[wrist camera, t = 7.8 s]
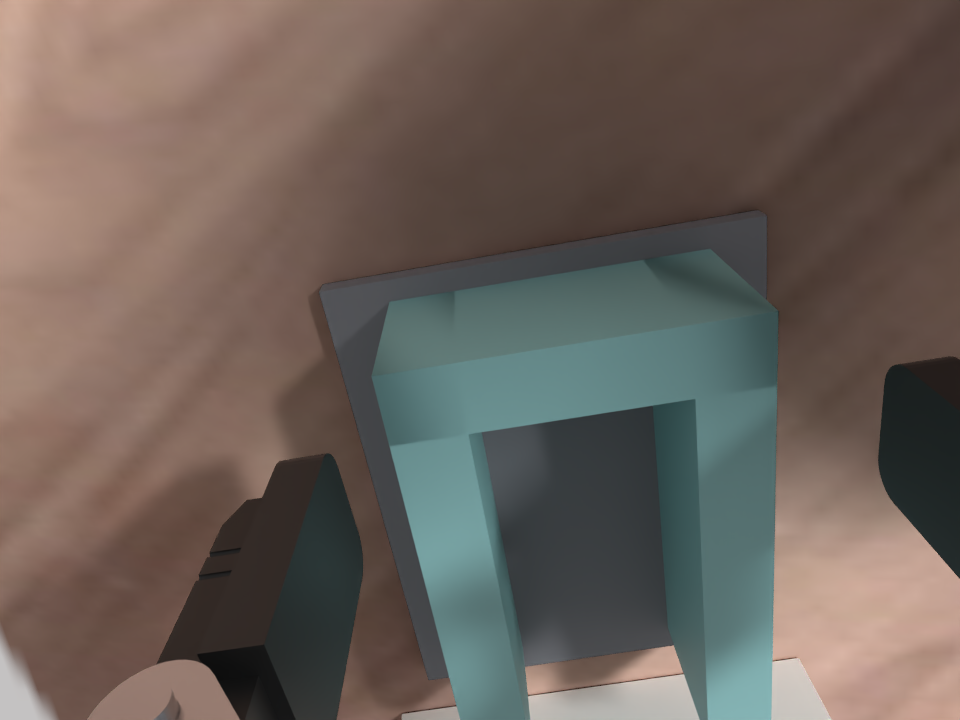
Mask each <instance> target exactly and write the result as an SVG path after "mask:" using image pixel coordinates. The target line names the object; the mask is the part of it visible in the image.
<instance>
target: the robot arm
mask: <svg viewBox="0 0 960 720" xmlns="http://www.w3.org/2000/svg"><path fill="white" fill-rule="evenodd" d="M878 463H879V471H880V475H881V479H882V482H883V485H884V487H885V490H886V492H887V494H888V495H889V497H890V499H891V500H892V501H893V503H894V504H895V505H896V506H897V507H898V508H899V509H900V511H901V512H902V513H903V514H904V515H905V516H906V518H907V519H908V520H909V521H910V522H911V523H912V524H913V526H914V527H915V528H916V529H917V530H918V531H919V532H920V534H921V535H922V536H923V537H924V538H925V539H926V541H927V542H928V543H929V544H930V545H931V546H932V547H933V549H934V550H935V551H936V552H937V553H938V554H939V555H940V557H941V558H942V559H943V560H944V561H945V562H946V563H947V565H948V566H949V567H950V568H951V569H952V570H953V572H954V573H955V574H956V575H957V576H958V577H959V578H960V359H958V358H956V357H950V356H948V357H942V358H936V359H929V360H923V361H917V362H910V363H904V364H898V365H894V366H892V367H891V368H890V369H889V370H888V372H887V374H886V378H885V384H884V395H883V407H882V419H881V431H880V443H879V455H878ZM362 576H363V556H362V547H361V541H360V537H359V533H358V530H357V527H356V524H355V520H354V517H353V514H352V511H351V508H350V504H349V501H348V498H347V495H346V492H345V488H344V485H343V482H342V479H341V476H340V473H339V469H338V466H337V464H336V461H335V459H334V458H333V456H332V455H331V454H328V453H327V454H321V455H315V456H308V457H302V458H296V459H289V460H283V461H279V462H278V463H277V464H276V466H275V469H274V471H273V473H272V476H271V478H270V480H269V483H268V485H267V488H266V490H265V492H264V495H263V497H262V498H258V499H252V500H247V501H246V502H245V503H244V504H243V505H242V506H241V507H240V508H239V509H238V510H237V511H236V512H235V513H234V514H233V515H232V516H231V517H230V518H229V519H228V520H227V521H226V522H225V523H224V524H223V525H222V527H221V529H220V532H219V534H218V536H217V538H216V540H215V542H214V544H213V546H212V548H211V551H210V558H207V559H206V561H205V563H204V565H203V567H202V570H201V572H200V574H199V581H196V582H195V584H194V586H193V589H192V591H191V593H190V595H189V597H188V599H187V601H186V603H185V605H184V608H183V610H182V612H181V614H180V616H179V618H178V620H177V622H176V624H175V627H174V629H173V631H172V633H171V635H170V637H169V639H168V641H167V643H166V646H165V648H164V650H163V652H162V654H161V656H160V658H159V660H158V662H157V665H154V666H151V667H149V668H147V669H144V670H142V671H140V672H139V673H137V674H135V675H133V676H131V677H130V678H128V679H127V680H125V681H124V682H122V683H121V684H120V685H118V686H117V687H116V688H115V689H113V690H112V691H111V692H110V693H109V694H108V695H107V696H106V697H105V698H104V699H103V700H102V701H101V702H100V703H99V704H98V705H97V706H96V708H95V709H94V710H93V711H92V713H91V714H90V716H89V717H88V719H87V720H336V719H337V713H338V708H339V702H340V697H341V691H342V686H343V681H344V675H345V670H346V664H347V659H348V653H349V648H350V642H351V637H352V631H353V626H354V620H355V615H356V609H357V604H358V599H359V593H360V588H361V582H362Z"/></svg>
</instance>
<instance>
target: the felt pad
mask: <svg viewBox="0 0 960 720" xmlns="http://www.w3.org/2000/svg"><path fill="white" fill-rule="evenodd" d="M706 249H711V250H712V251H713V252H714V253H715V254H717V255H718V256H719V257H720V258H721V259H722V260H723V261H724V262H725V263H726V264H728V265H729V266H730V267H731V268H732V269H733V270H734V271H735V272H736V273H737V274H738V275H740V276H741V277H742V278H743V279H744V280H745V281H746V282H747V283H748V284H749V285H751V286H752V287H753V288H754V289H755V290H756V291H757V292H758V293H759V294H760V295H761V296H763V297H764V298H765V299H766V300H767V215H765V214H764V213H762V212H761V211H759V210H755V211H749V212H743V213H738V214H732V215H726V216H720V217H714V218H708V219H702V220H697V221H691V222H685V223H679V224H673V225H667V226H661V227H656V228H650V229H644V230H638V231H632V232H626V233H621V234H615V235H609V236H603V237H597V238H591V239H585V240H580V241H574V242H568V243H562V244H556V245H550V246H544V247H539V248H533V249H527V250H521V251H515V252H509V253H503V254H498V255H492V256H486V257H480V258H474V259H468V260H462V261H457V262H451V263H445V264H439V265H433V266H427V267H421V268H416V269H410V270H404V271H398V272H392V273H386V274H380V275H375V276H369V277H363V278H357V279H351V280H345V281H339V282H334V283H328V284H323V285H322V287H321V289H320V291H319V294H320V297H321V301H322V305H323V308H324V312H325V315H326V319H327V322H328V326H329V329H330V333H331V336H332V340H333V344H334V347H335V351H336V354H337V358H338V361H339V365H340V368H341V372H342V375H343V379H344V383H345V386H346V390H347V393H348V397H349V400H350V404H351V407H352V411H353V414H354V418H355V421H356V425H357V429H358V432H359V436H360V439H361V443H362V446H363V450H364V453H365V457H366V460H367V464H368V468H369V471H370V475H371V478H372V482H373V485H374V489H375V492H376V496H377V499H378V503H379V506H380V510H381V514H382V517H383V521H384V524H385V528H386V531H387V535H388V538H389V542H390V545H391V549H392V553H393V556H394V560H395V563H396V567H397V570H398V574H399V577H400V581H401V584H402V588H403V592H404V595H405V599H406V602H407V606H408V609H409V613H410V616H411V620H412V623H413V627H414V630H415V634H416V638H417V641H418V645H419V648H420V652H421V655H422V659H423V662H424V666H425V669H426V673H427V677H428V680H435V679H442V678H449V675H448V671H447V667H446V663H445V659H444V655H443V651H442V647H441V644H440V640H439V636H438V632H437V628H436V624H435V620H434V617H433V613H432V609H431V605H430V601H429V597H428V593H427V589H426V586H425V582H424V578H423V574H422V570H421V566H420V562H419V559H418V555H417V551H416V547H415V543H414V539H413V535H412V531H411V528H410V524H409V520H408V516H407V512H406V508H405V504H404V501H403V497H402V493H401V489H400V485H399V481H398V477H397V473H396V470H395V466H394V462H393V458H392V454H391V450H390V446H389V442H388V439H387V435H386V431H385V427H384V423H383V419H382V415H381V412H380V408H379V404H378V400H377V396H376V392H375V388H374V384H373V381H372V377H371V376H372V372H373V368H374V364H375V360H376V356H377V351H378V347H379V343H380V339H381V335H382V331H383V326H384V322H385V318H386V314H387V310H388V306H389V302H391V301H397V300H403V299H409V298H415V297H421V296H427V295H433V294H439V293H445V292H452V291H458V290H464V289H470V288H476V287H482V286H488V285H494V284H500V283H506V282H512V281H518V280H524V279H530V278H536V277H542V276H548V275H554V274H560V273H566V272H572V271H579V270H585V269H591V268H597V267H603V266H609V265H615V264H621V263H627V262H633V261H639V260H645V259H651V258H657V257H663V256H669V255H675V254H681V253H687V252H693V251H700V250H706ZM482 436H483V442H484V447H485V452H486V457H487V463H488V468H489V473H490V478H491V483H492V489H493V494H494V499H495V504H496V510H497V515H498V520H499V525H500V531H501V536H502V541H503V546H504V552H505V557H506V562H507V567H508V573H509V578H510V583H511V588H512V594H513V599H514V604H515V609H516V615H517V620H518V625H519V630H520V635H521V641H522V646H523V653H524V663H525V666H532V665H539V664H546V663H553V662H560V661H567V660H574V659H581V658H588V657H595V656H602V655H609V654H616V653H623V652H630V651H637V650H644V649H651V648H658V647H665V646H672V645H674V644H673V641H672V638H671V635H670V632H669V629H668V620H667V606H666V591H665V577H664V562H663V547H662V533H661V518H660V504H659V489H658V474H657V460H656V445H655V431H654V416H653V406H647V407H640V408H634V409H628V410H621V411H615V412H608V413H602V414H596V415H589V416H583V417H576V418H570V419H564V420H557V421H551V422H544V423H538V424H532V425H525V426H519V427H512V428H506V429H499V430H493V431H487V432H482Z"/></svg>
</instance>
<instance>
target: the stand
mask: <svg viewBox="0 0 960 720" xmlns="http://www.w3.org/2000/svg"><path fill="white" fill-rule="evenodd" d="M528 702H529V711H530V720H700V719H699V716H698V714H697V711H696V708H695V705H694V702H693V699H692V696H691V693H690V690H689V687H688V685H687V682H686V679H685V676H684V674H681V675H674V676H667V677H660V678H653V679H646V680H639V681H632V682H625V683H618V684H610V685H603V686H596V687H589V688H582V689H575V690H568V691H561V692H554V693H547V694H540V695H533V696H528ZM402 720H460V717H459V713H458V709H457V706H455V707H448V708H441V709H434V710H427V711H420V712H412V713H405V714H402ZM771 720H832V719H831V717H830V716H829V714H828V712H827V710H826V708H825V706H824V704H823V702H822V701H821V699H820V697H819V695H818V693H817V691H816V689H815V687H814V686H813V684H812V682H811V680H810V678H809V676H808V674H807V672H806V671H805V669H804V667H803V665H802V663H801V661H800V659H799V658H794V659H787V660H780V661H773V662H772V710H771Z"/></svg>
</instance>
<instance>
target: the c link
mask: <svg viewBox="0 0 960 720" xmlns="http://www.w3.org/2000/svg"><path fill="white" fill-rule="evenodd" d="M778 313H779V311H778V310H777V309H776V308H775V307H774V306H772V305H771V304H770V303H769V302H768V301H767V300H766V299H765V298H764V297H763V296H761V295H760V294H759V293H758V292H757V291H756V290H755V289H754V288H753V287H752V286H751V285H749V284H748V283H747V282H746V281H745V280H744V279H743V278H742V277H741V276H740V275H738V274H737V273H736V272H735V271H734V270H733V269H732V268H731V267H730V266H729V265H728V264H726V263H725V262H724V261H723V260H722V259H721V258H720V257H719V256H718V255H717V254H715V253H714V252H713V251H712V250H711V249H706V250H700V251H693V252H687V253H681V254H675V255H669V256H663V257H657V258H651V259H645V260H639V261H633V262H627V263H621V264H615V265H609V266H603V267H597V268H591V269H585V270H579V271H572V272H566V273H560V274H554V275H548V276H542V277H536V278H530V279H524V280H518V281H512V282H506V283H500V284H494V285H488V286H482V287H476V288H470V289H464V290H458V291H452V292H445V293H439V294H433V295H427V296H421V297H415V298H409V299H403V300H397V301H391V302H389V306H388V310H387V314H386V318H385V322H384V326H383V331H382V335H381V339H380V343H379V347H378V351H377V356H376V360H375V364H374V368H373V372H372V376H371V377H372V381H373V384H374V388H375V392H376V396H377V400H378V404H379V408H380V412H381V415H382V419H383V423H384V427H385V431H386V435H387V439H388V442H389V446H390V450H391V454H392V458H393V462H394V466H395V470H396V473H397V477H398V481H399V485H400V489H401V493H402V497H403V501H404V504H405V508H406V512H407V516H408V520H409V524H410V528H411V531H412V535H413V539H414V543H415V547H416V551H417V555H418V559H419V562H420V566H421V570H422V574H423V578H424V582H425V586H426V589H427V593H428V597H429V601H430V605H431V609H432V613H433V617H434V620H435V624H436V628H437V632H438V636H439V640H440V644H441V647H442V651H443V655H444V659H445V663H446V667H447V671H448V675H449V678H450V682H451V686H452V690H453V694H454V698H455V702H456V705H457V709H458V713H459V717H460V720H530V711H529V702H528V692H527V682H526V673H525V663H524V653H523V646H522V641H521V635H520V630H519V625H518V620H517V615H516V609H515V604H514V599H513V594H512V588H511V583H510V578H509V573H508V567H507V562H506V557H505V552H504V546H503V541H502V536H501V531H500V525H499V520H498V515H497V510H496V504H495V499H494V494H493V489H492V483H491V478H490V473H489V468H488V463H487V457H486V452H485V447H484V442H483V436H482V432H487V431H493V430H499V429H506V428H512V427H519V426H525V425H532V424H538V423H544V422H551V421H557V420H564V419H570V418H576V417H583V416H589V415H596V414H602V413H608V412H615V411H621V410H628V409H634V408H640V407H647V406H653V416H654V431H655V445H656V460H657V474H658V489H659V504H660V518H661V533H662V547H663V562H664V577H665V591H666V606H667V620H668V629H669V632H670V635H671V638H672V641H673V644H674V647H675V650H676V653H677V656H678V658H679V661H680V664H681V667H682V670H683V673H684V676H685V679H686V682H687V685H688V687H689V690H690V693H691V696H692V699H693V702H694V705H695V708H696V711H697V714H698V716H699V719H700V720H771V710H772V654H773V597H774V540H775V483H776V427H777V370H778Z"/></svg>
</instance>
